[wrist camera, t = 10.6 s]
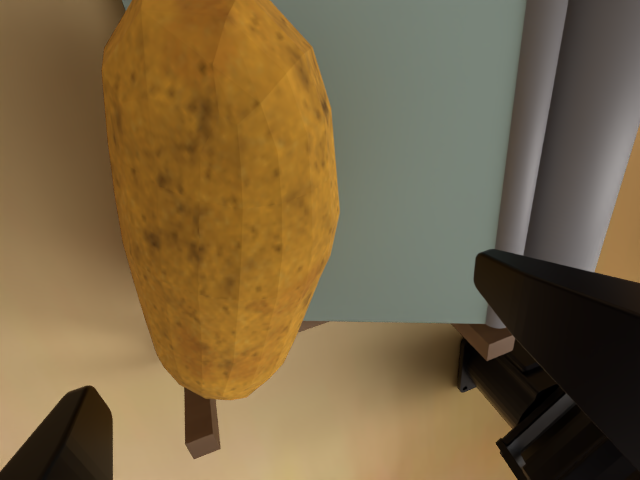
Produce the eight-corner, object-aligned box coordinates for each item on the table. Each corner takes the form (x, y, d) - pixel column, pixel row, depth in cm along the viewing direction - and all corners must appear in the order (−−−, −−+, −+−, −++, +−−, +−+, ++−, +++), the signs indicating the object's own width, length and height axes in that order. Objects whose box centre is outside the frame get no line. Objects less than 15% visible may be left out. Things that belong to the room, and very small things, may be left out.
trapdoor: (566, 277, 20) (600, 330, 17) (253, 279, 24) (231, 323, 21) (667, -113, 12) (772, -160, 9) (169, -14, 16) (109, -20, 13)
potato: (388, 11, 12) (381, 16, 6) (316, 320, 20) (282, 451, 14) (177, -33, 12) (-23, -68, 6) (189, 287, 20) (105, 402, 14)
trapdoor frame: (476, 257, 26) (570, 326, 20) (190, 354, 22) (194, 481, 16) (513, -127, 16) (735, -239, 10) (-13, -84, 12) (-241, -231, 5)
